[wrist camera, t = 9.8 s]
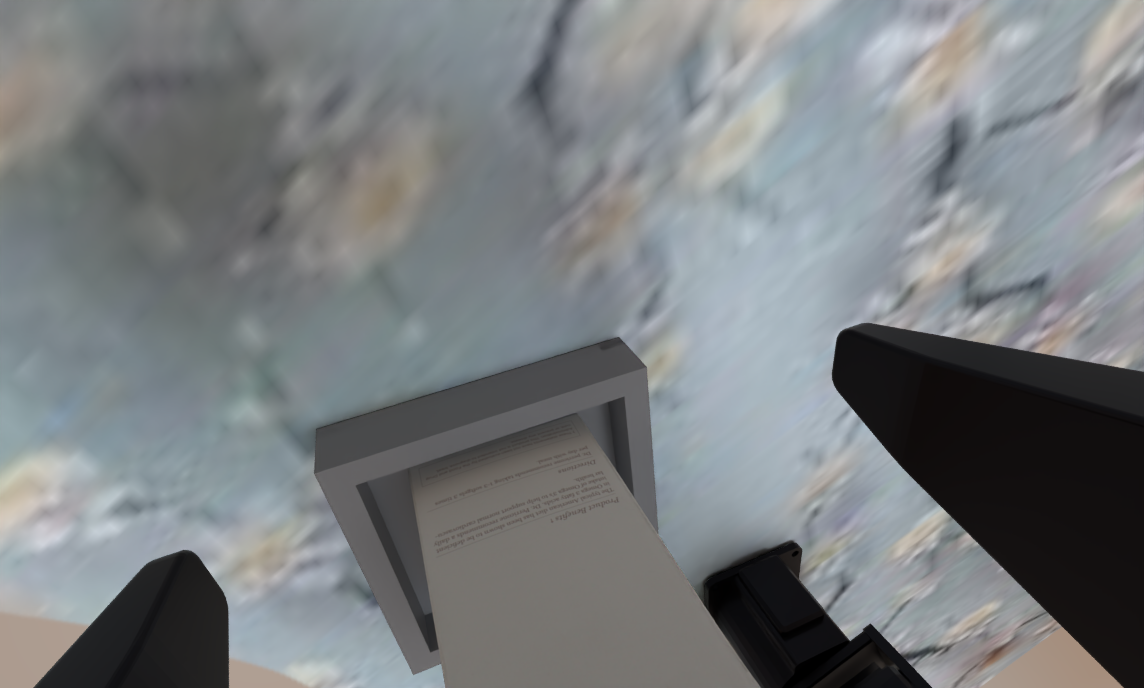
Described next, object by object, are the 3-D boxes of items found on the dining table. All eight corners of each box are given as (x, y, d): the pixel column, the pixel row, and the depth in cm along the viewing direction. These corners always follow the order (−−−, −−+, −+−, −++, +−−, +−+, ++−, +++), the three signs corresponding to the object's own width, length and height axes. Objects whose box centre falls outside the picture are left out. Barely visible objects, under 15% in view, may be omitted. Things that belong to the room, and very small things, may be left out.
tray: (638, 534, 30) (661, 572, 28) (407, 625, 27) (413, 674, 25) (619, 337, 23) (646, 366, 21) (316, 429, 21) (314, 473, 19)
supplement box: (443, 584, 26) (517, 964, 15) (404, 460, 22) (465, 851, 11) (596, 530, 28) (755, 836, 17) (583, 407, 24) (777, 702, 13)
